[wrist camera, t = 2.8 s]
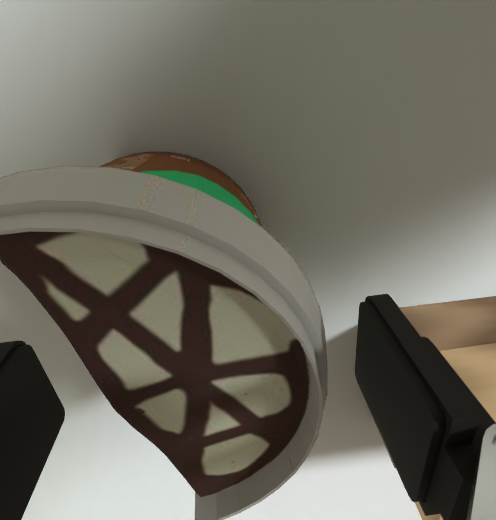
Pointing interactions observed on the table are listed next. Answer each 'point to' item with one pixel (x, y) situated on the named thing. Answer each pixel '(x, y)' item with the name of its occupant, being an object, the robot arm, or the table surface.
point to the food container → (178, 314)
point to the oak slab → (473, 381)
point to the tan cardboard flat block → (455, 324)
